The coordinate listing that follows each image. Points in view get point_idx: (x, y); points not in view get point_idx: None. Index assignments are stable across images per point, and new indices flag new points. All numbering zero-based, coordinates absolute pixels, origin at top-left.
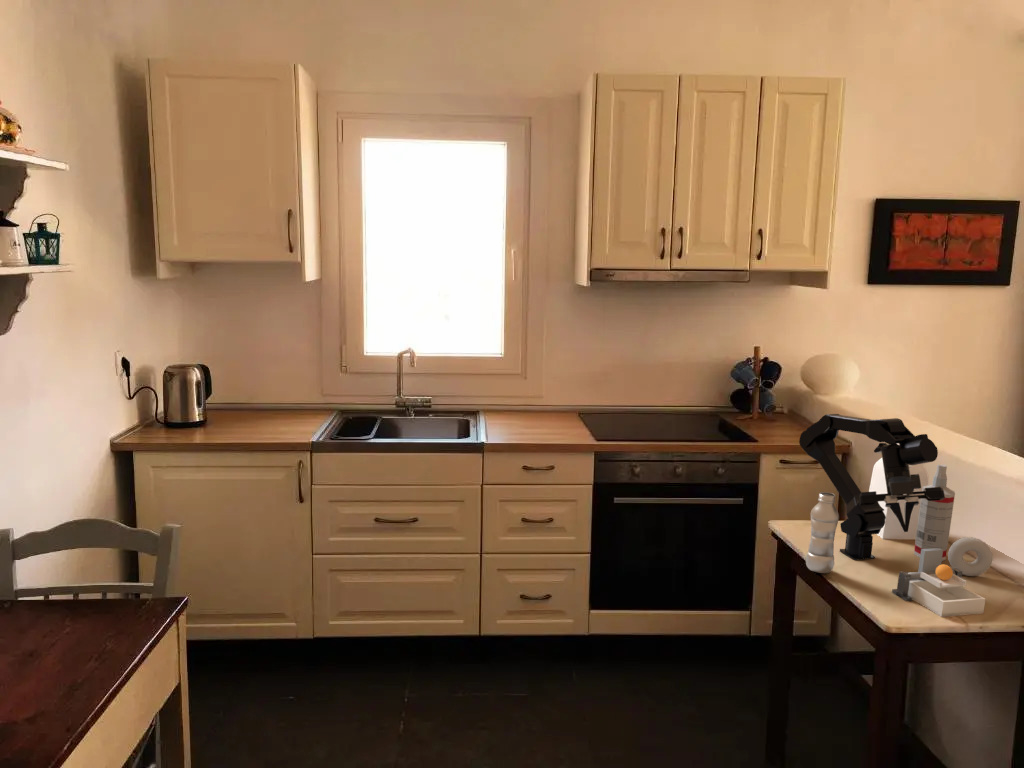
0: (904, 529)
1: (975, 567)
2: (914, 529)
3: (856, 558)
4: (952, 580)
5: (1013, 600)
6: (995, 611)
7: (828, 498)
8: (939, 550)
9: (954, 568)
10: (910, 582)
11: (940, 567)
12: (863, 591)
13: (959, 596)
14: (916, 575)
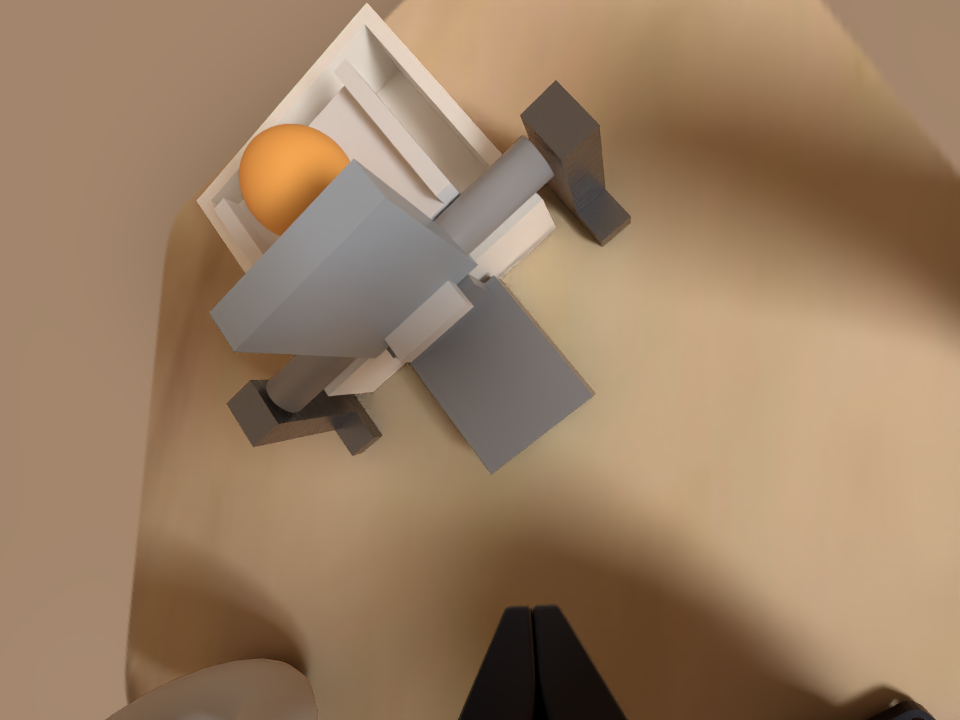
0: (553, 625)
1: (207, 685)
2: None
3: (905, 712)
4: None
5: (151, 444)
6: (216, 278)
7: None
8: (237, 285)
9: (262, 431)
10: None
11: (298, 137)
12: (803, 130)
13: None
14: (482, 175)
